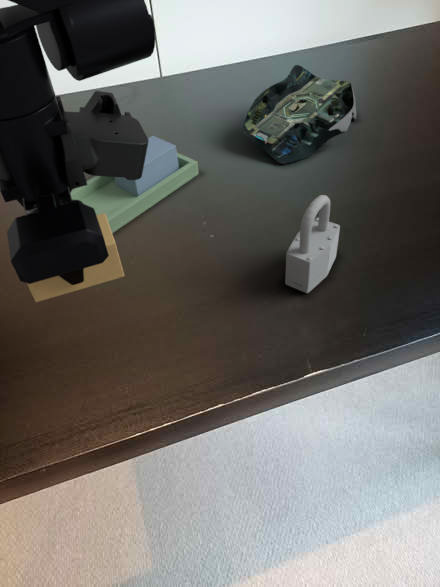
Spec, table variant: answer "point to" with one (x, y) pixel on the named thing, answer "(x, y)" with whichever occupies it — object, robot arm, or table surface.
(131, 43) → the robot arm
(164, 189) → the tray
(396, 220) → the table surface
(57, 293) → the tan block
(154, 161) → the blue block
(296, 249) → the padlock
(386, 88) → the table surface
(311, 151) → the model
